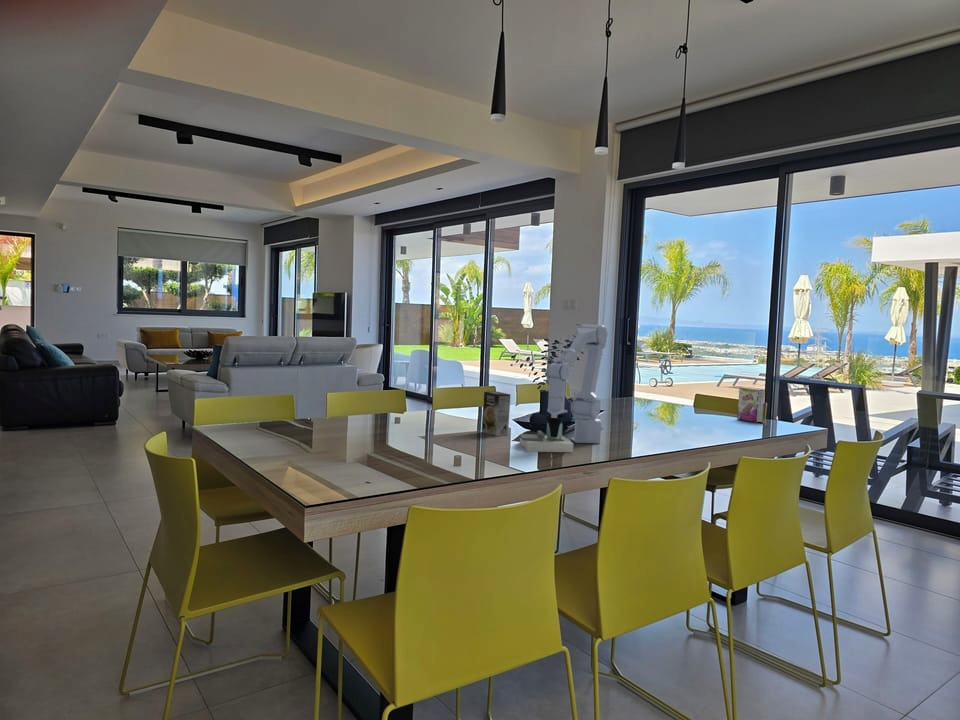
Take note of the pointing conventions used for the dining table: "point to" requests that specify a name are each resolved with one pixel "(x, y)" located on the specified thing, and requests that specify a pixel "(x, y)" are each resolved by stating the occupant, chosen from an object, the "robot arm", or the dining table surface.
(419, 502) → the dining table surface
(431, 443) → the dining table surface
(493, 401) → the coffee box
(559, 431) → the plug
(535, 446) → the socket plate
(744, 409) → the candy bar box
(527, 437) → the shutter
